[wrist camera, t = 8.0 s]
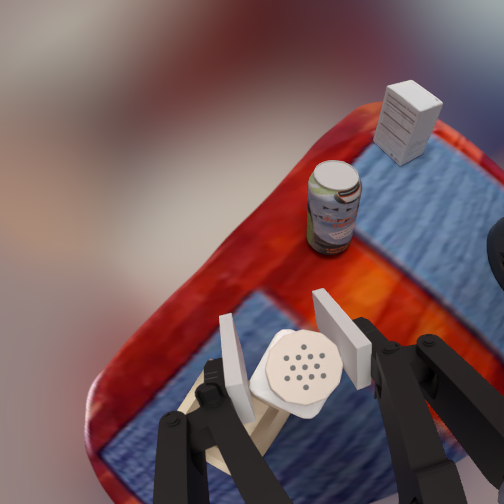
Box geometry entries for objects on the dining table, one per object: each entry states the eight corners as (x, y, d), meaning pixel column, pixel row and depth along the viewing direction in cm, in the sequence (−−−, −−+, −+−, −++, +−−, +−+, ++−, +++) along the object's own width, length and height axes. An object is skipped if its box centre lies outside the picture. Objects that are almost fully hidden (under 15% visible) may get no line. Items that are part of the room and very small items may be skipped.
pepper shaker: (251, 391, 19) (236, 387, 11) (278, 343, 21) (283, 304, 12) (301, 416, 18) (325, 430, 10) (327, 367, 20) (367, 343, 11)
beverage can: (320, 267, 38) (336, 215, 27) (292, 224, 41) (297, 164, 31) (358, 247, 39) (384, 192, 28) (329, 207, 42) (343, 147, 32)
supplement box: (395, 130, 50) (411, 78, 38) (422, 155, 46) (445, 103, 35) (371, 141, 48) (385, 84, 37) (399, 167, 45) (421, 111, 34)
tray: (294, 405, 31) (295, 406, 28) (245, 479, 27) (243, 485, 24) (212, 359, 34) (208, 357, 32) (166, 431, 30) (159, 433, 28)
